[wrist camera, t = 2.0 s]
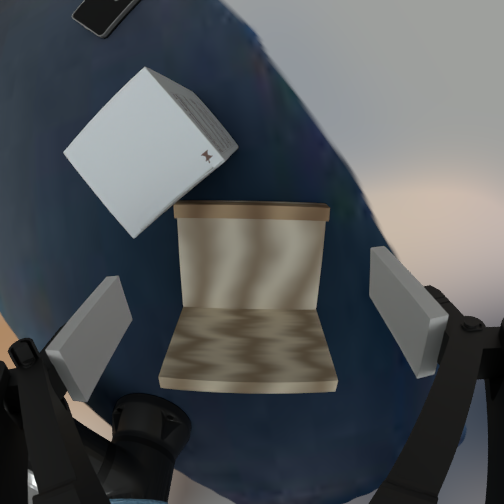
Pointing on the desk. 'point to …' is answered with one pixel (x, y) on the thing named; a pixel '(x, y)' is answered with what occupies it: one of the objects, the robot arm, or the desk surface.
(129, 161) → the supplement box
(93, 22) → the external hard drive
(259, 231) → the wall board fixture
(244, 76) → the desk surface
